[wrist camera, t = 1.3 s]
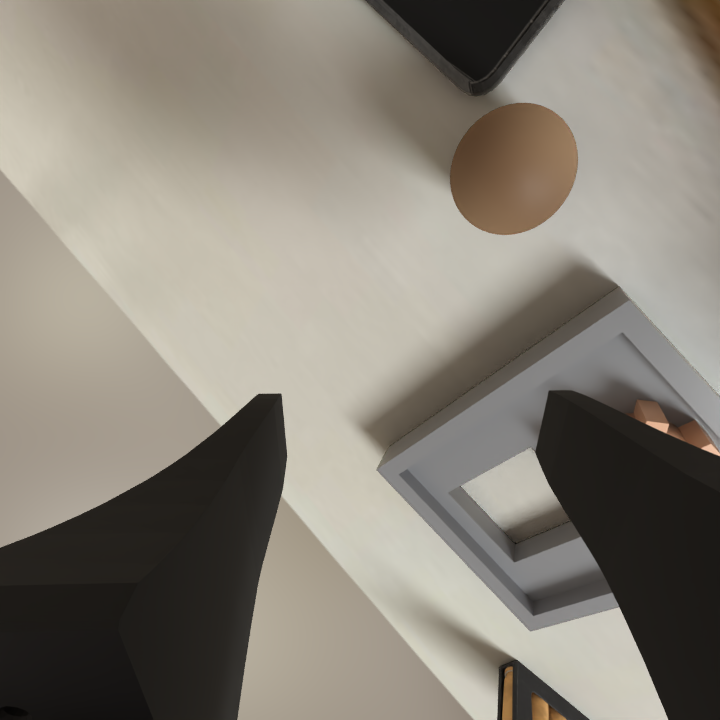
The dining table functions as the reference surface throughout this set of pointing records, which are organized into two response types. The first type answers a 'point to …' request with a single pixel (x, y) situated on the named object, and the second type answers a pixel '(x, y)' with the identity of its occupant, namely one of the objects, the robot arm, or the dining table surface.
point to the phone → (469, 34)
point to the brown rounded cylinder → (514, 168)
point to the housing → (521, 431)
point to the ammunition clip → (530, 697)
